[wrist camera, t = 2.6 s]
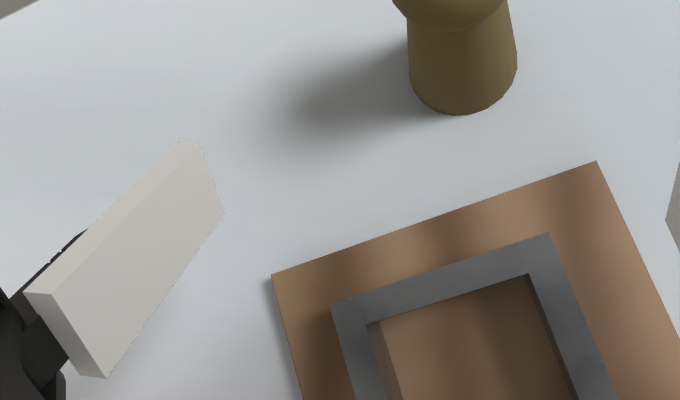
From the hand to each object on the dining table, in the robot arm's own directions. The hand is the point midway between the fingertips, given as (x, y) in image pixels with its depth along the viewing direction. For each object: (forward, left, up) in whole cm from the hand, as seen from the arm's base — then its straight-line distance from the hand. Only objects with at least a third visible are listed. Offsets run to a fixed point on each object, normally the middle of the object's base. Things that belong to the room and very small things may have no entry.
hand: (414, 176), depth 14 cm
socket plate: (+1, +7, -14) cm, 15 cm away
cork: (-4, -9, -14) cm, 17 cm away
